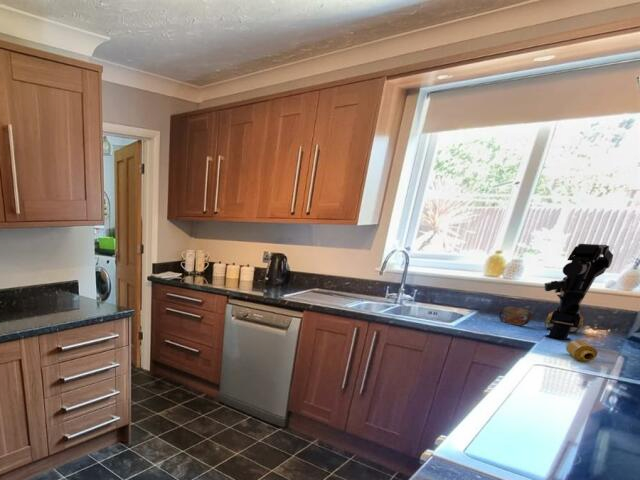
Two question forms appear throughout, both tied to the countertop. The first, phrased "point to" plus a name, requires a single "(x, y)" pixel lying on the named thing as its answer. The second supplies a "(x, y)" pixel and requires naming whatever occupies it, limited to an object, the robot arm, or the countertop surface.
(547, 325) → the burger
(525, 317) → the tin
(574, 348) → the bottle
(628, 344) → the countertop surface
